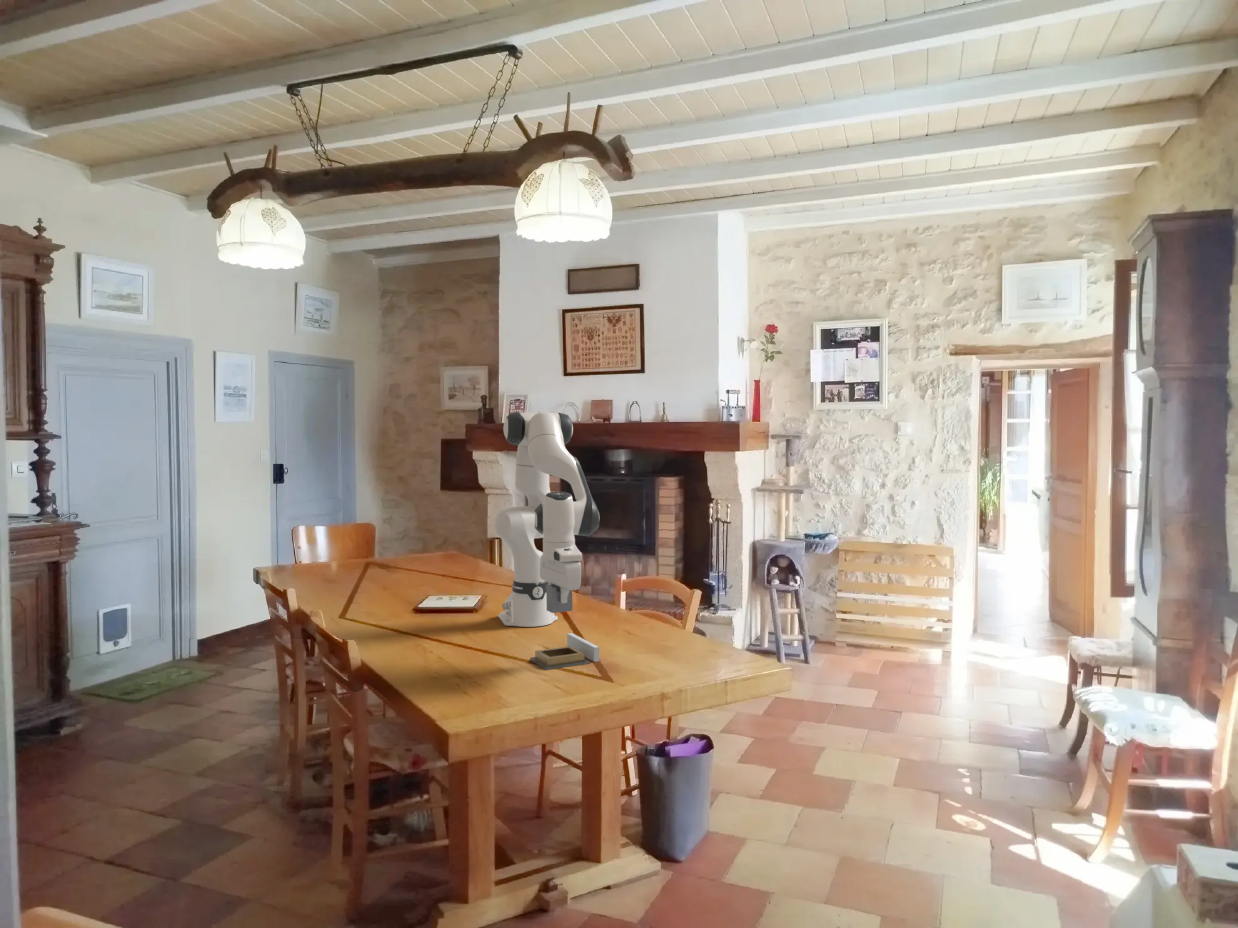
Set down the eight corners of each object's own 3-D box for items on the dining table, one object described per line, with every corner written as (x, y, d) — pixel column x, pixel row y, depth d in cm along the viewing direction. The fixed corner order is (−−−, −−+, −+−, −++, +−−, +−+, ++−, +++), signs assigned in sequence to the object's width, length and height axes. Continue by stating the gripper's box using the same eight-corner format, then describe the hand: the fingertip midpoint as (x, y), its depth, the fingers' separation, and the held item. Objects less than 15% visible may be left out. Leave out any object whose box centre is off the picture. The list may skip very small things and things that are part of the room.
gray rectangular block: (546, 610, 231) (546, 585, 231) (566, 607, 234) (566, 583, 233) (552, 612, 227) (552, 587, 227) (572, 610, 230) (572, 585, 230)
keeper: (530, 659, 233) (530, 650, 233) (572, 653, 239) (572, 644, 239) (545, 669, 223) (545, 660, 223) (589, 663, 229) (589, 653, 229)
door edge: (567, 646, 246) (567, 633, 246) (571, 646, 247) (571, 632, 247) (594, 661, 231) (594, 647, 230) (599, 661, 231) (599, 646, 231)
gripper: (534, 547, 238) (534, 595, 238) (563, 556, 219) (563, 609, 220) (554, 545, 241) (554, 593, 241) (585, 555, 222) (585, 606, 223)
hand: (559, 600), depth 230 cm, fingers closed on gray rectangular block, 4 cm apart
